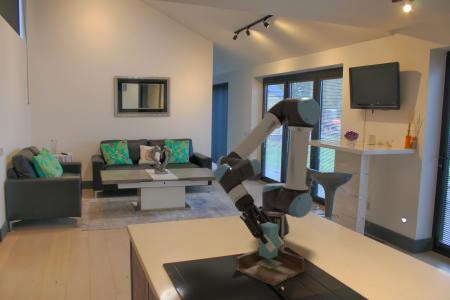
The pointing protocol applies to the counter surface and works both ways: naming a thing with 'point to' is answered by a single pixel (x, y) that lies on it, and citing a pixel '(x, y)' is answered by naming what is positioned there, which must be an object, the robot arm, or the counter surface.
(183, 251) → the counter surface
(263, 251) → the teal block
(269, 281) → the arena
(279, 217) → the coffee box
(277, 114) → the robot arm
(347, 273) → the counter surface
